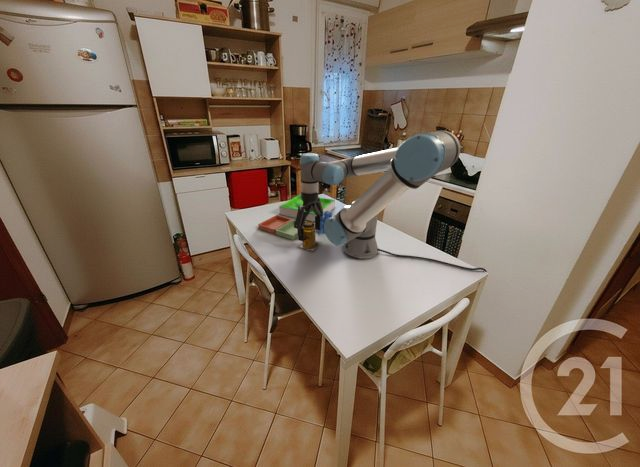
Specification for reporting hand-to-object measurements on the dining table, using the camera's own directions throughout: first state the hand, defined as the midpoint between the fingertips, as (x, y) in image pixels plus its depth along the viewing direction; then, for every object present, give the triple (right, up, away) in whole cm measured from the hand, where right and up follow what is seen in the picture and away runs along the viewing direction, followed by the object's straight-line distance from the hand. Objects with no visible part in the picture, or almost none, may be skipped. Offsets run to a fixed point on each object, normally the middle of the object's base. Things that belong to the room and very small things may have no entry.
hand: (309, 234), depth 122 cm
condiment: (0, -5, +3) cm, 6 cm away
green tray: (-9, +2, +15) cm, 18 cm away
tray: (-3, +14, +40) cm, 42 cm away
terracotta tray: (-19, +5, +21) cm, 29 cm away
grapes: (+7, +1, +15) cm, 16 cm away
